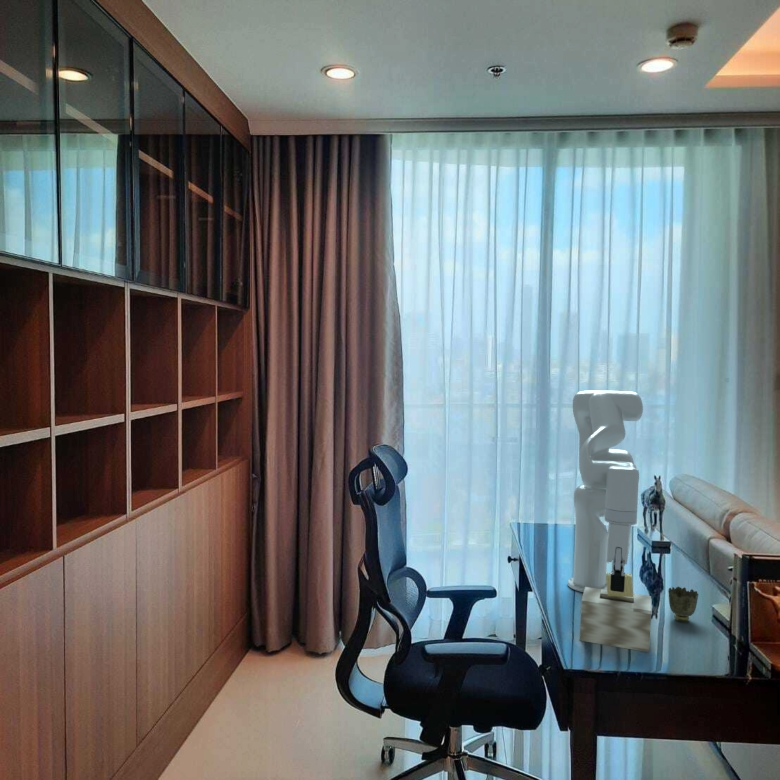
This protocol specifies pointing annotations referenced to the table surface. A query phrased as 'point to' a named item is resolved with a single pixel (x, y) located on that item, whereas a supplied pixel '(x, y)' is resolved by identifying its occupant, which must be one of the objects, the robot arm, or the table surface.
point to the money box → (615, 619)
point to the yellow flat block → (627, 586)
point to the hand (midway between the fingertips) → (617, 588)
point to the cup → (682, 603)
